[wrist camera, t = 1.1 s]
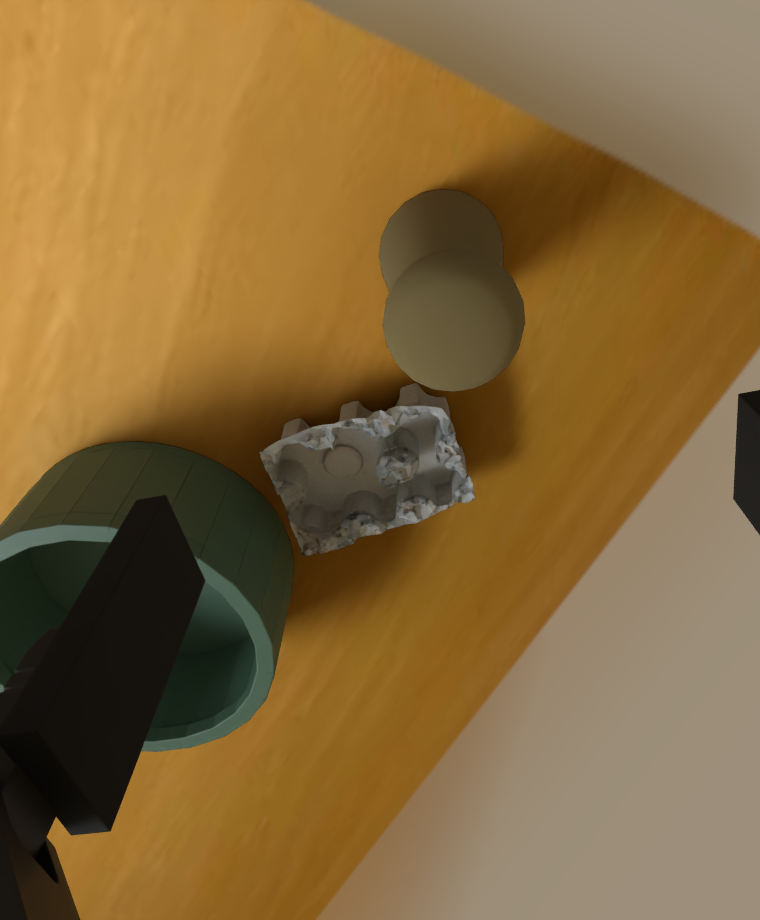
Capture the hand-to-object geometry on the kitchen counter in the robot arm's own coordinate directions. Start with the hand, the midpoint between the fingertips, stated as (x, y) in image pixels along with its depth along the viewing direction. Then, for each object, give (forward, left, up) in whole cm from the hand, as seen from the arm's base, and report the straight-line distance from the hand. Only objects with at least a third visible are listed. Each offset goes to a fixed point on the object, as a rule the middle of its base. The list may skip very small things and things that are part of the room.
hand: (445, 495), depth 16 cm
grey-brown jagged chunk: (+10, -5, -21) cm, 23 cm away
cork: (0, +1, -21) cm, 21 cm away
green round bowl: (+15, -20, -20) cm, 32 cm away
